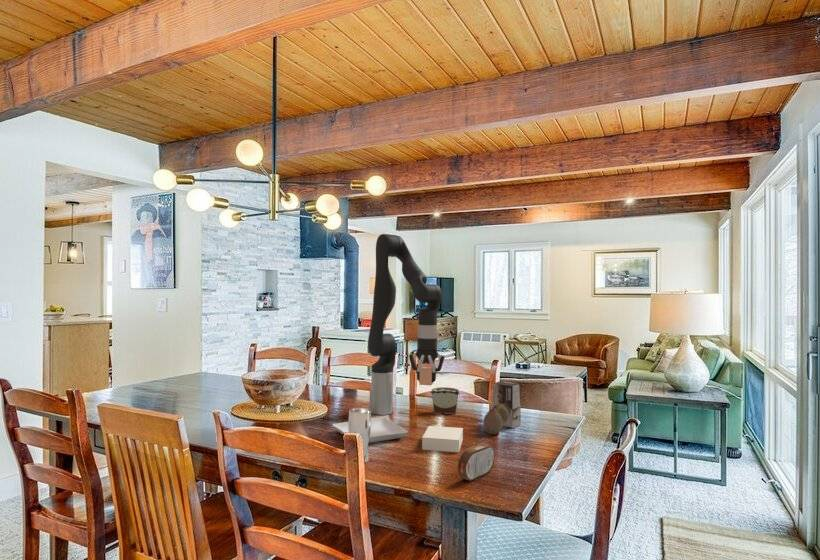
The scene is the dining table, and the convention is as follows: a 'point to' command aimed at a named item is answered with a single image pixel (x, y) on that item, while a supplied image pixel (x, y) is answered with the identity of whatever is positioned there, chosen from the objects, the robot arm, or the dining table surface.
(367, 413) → the beer glass
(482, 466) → the tin
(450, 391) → the food container
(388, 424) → the salad plate
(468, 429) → the dining table surface
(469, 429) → the dining table surface
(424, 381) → the light pinkish-tan block
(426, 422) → the dining table surface
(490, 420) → the vase
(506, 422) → the coffee box
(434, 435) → the plinth
